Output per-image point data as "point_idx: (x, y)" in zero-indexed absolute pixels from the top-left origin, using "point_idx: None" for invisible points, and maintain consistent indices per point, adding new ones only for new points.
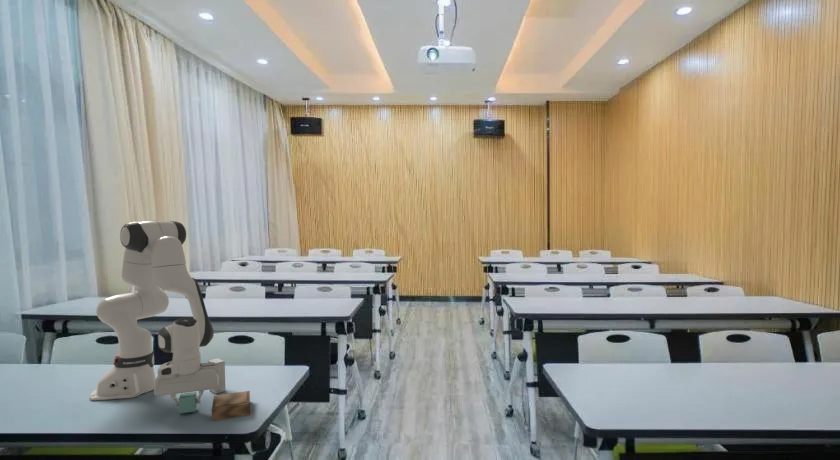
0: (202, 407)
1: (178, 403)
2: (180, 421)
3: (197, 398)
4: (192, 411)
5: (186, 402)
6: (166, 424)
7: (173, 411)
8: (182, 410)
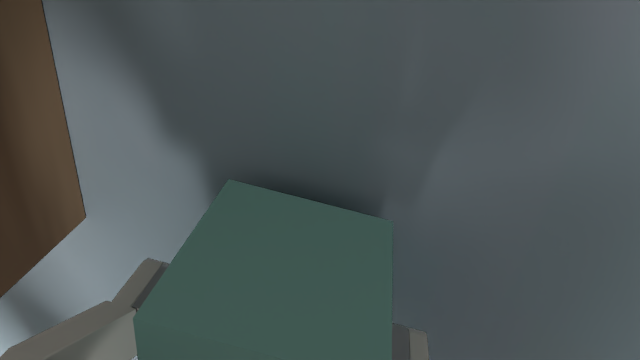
0: None
1: None
2: (404, 61)
3: None
4: (254, 187)
5: (285, 292)
6: (575, 72)
7: (414, 323)
8: (353, 230)
